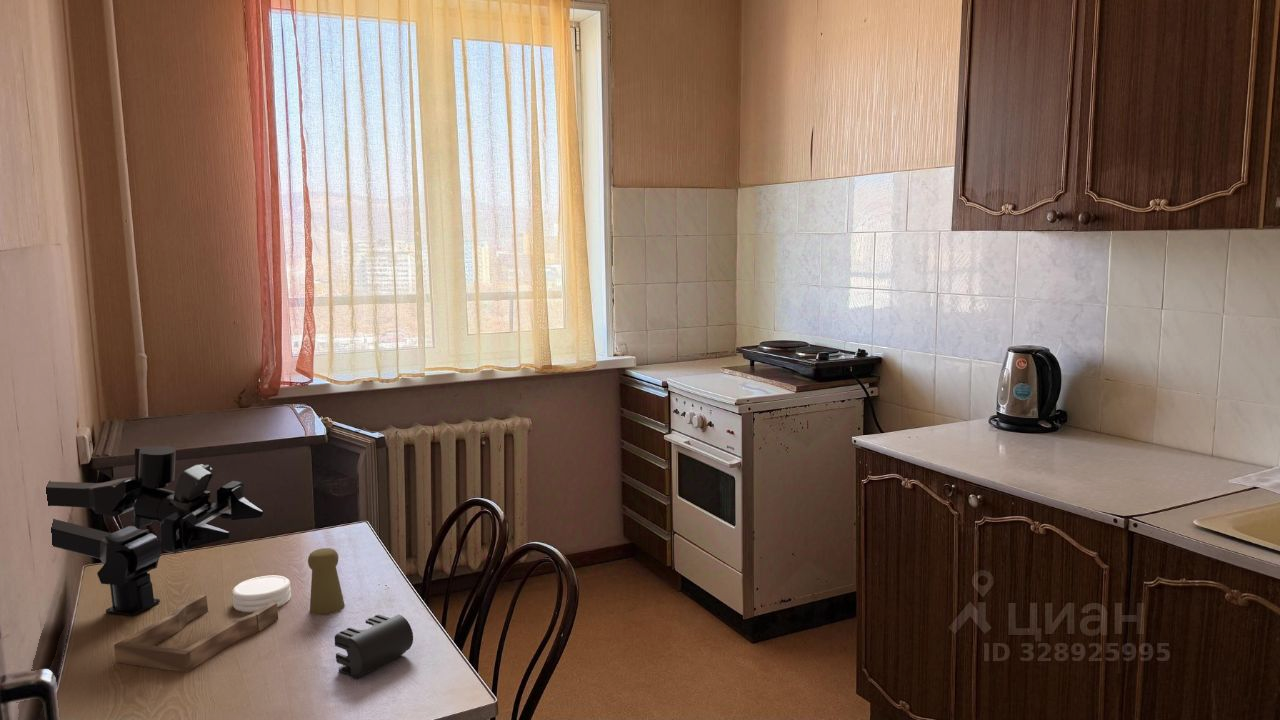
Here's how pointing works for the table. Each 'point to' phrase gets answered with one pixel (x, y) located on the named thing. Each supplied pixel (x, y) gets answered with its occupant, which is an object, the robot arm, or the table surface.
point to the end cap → (373, 644)
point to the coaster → (261, 593)
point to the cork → (325, 582)
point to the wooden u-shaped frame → (146, 654)
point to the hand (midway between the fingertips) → (246, 524)
